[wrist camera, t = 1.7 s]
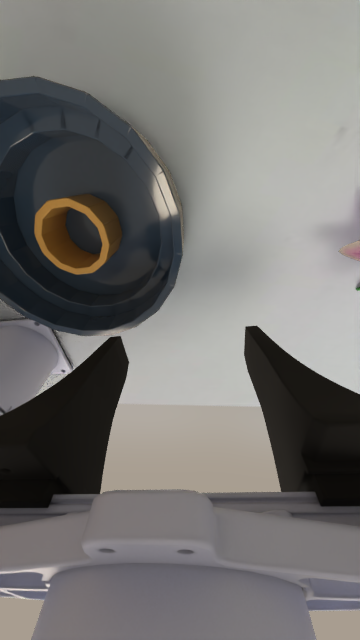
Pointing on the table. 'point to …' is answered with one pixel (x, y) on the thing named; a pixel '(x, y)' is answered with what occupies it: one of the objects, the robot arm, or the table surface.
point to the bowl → (76, 179)
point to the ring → (58, 241)
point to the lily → (352, 252)
